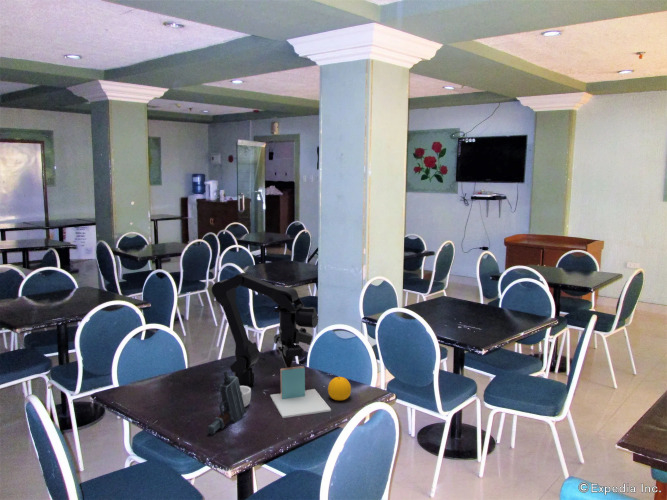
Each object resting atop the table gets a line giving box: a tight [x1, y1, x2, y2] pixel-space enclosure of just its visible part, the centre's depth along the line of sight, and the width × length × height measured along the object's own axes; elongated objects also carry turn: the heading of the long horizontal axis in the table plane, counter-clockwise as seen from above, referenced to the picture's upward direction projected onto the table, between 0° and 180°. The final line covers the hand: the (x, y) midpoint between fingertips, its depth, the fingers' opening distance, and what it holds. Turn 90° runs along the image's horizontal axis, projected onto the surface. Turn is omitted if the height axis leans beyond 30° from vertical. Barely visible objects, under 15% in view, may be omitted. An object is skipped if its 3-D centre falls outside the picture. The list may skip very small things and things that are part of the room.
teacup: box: [240, 386, 252, 408], centre depth 177 cm, size 10×8×5 cm
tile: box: [279, 365, 306, 399], centre depth 184 cm, size 8×2×10 cm, turn 109°
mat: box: [269, 388, 332, 419], centre depth 180 cm, size 16×18×1 cm
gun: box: [207, 370, 248, 436], centre depth 162 cm, size 3×17×15 cm
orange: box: [327, 376, 352, 401], centre depth 184 cm, size 8×8×8 cm
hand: (288, 368), depth 189 cm, fingers closed
